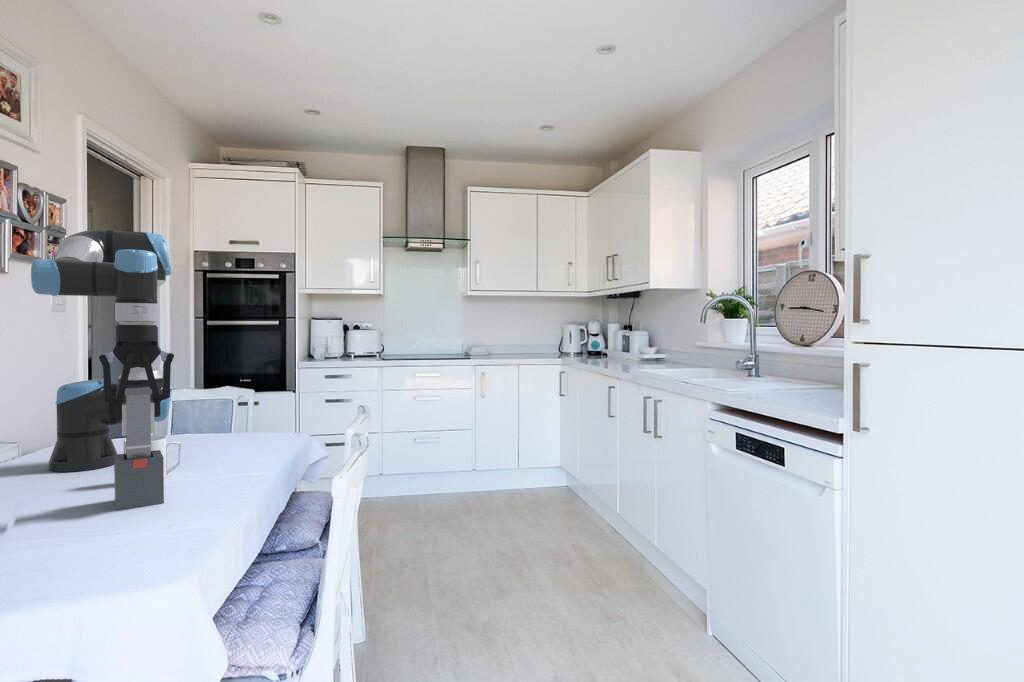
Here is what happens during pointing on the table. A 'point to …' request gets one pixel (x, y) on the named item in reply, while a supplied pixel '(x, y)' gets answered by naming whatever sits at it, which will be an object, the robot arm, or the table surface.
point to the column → (138, 422)
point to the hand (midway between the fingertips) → (138, 433)
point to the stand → (138, 481)
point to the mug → (162, 450)
